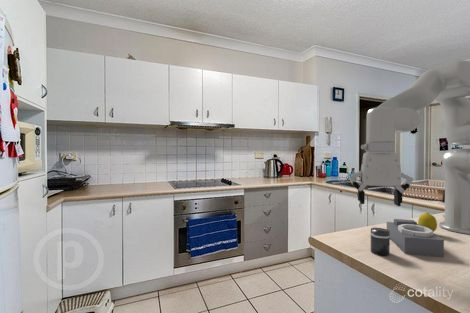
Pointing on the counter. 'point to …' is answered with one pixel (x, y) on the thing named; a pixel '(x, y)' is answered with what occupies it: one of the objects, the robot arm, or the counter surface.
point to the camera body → (415, 238)
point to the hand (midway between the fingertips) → (379, 204)
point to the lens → (380, 241)
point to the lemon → (428, 221)
